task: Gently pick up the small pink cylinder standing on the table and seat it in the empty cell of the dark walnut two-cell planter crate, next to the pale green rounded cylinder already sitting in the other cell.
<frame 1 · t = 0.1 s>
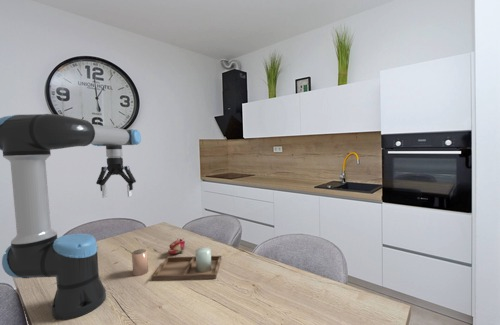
hand: (117, 196, 130), 28 cm above the table, fingers open, 13 cm apart
crate: (189, 270, 103), on the table
flower: (176, 254, 120), on the table
pale green rounded cylinder: (204, 268, 103), point 1 cm above the table, touching crate
pink cylinder: (140, 272, 103), on the table
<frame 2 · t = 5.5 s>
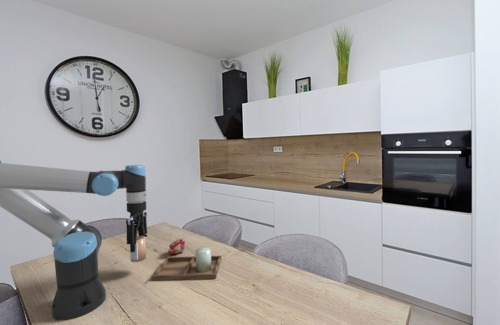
hand: (138, 255, 103), 8 cm above the table, fingers closed on pink cylinder, 6 cm apart
pink cylinder: (138, 259, 103), point 6 cm above the table, touching gripper
everything else where it was.
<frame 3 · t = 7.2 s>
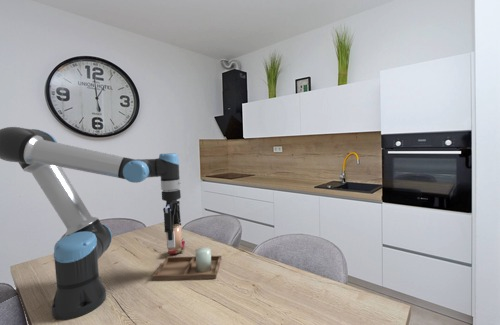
hand: (174, 243, 103), 12 cm above the table, fingers closed on pink cylinder, 6 cm apart
pink cylinder: (174, 247, 103), point 10 cm above the table, touching gripper
everything else where it was.
when the fingers open (2 cm above the table, at t = 9.3 s): pink cylinder stays where it is, resting on crate.
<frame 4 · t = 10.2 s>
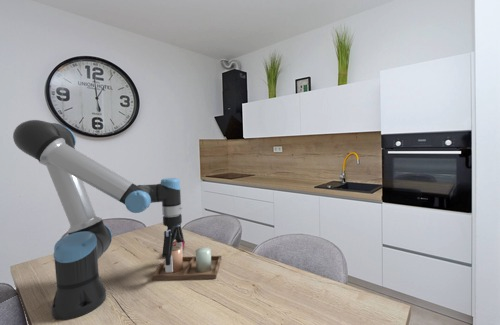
hand: (174, 263, 103), 3 cm above the table, fingers open, 13 cm apart
pink cylinder: (175, 269, 103), point 1 cm above the table, touching crate
everything else where it was.
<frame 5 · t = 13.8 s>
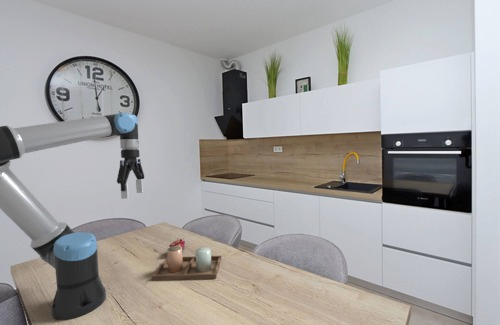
hand: (132, 195, 111), 32 cm above the table, fingers open, 13 cm apart
nothing on the table moved.
at the end: pink cylinder inside the target area on the crate (0.4 cm from its centre), point 0.9 cm above the crate's base; pink cylinder tilted 1°; the gripper is holding nothing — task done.
